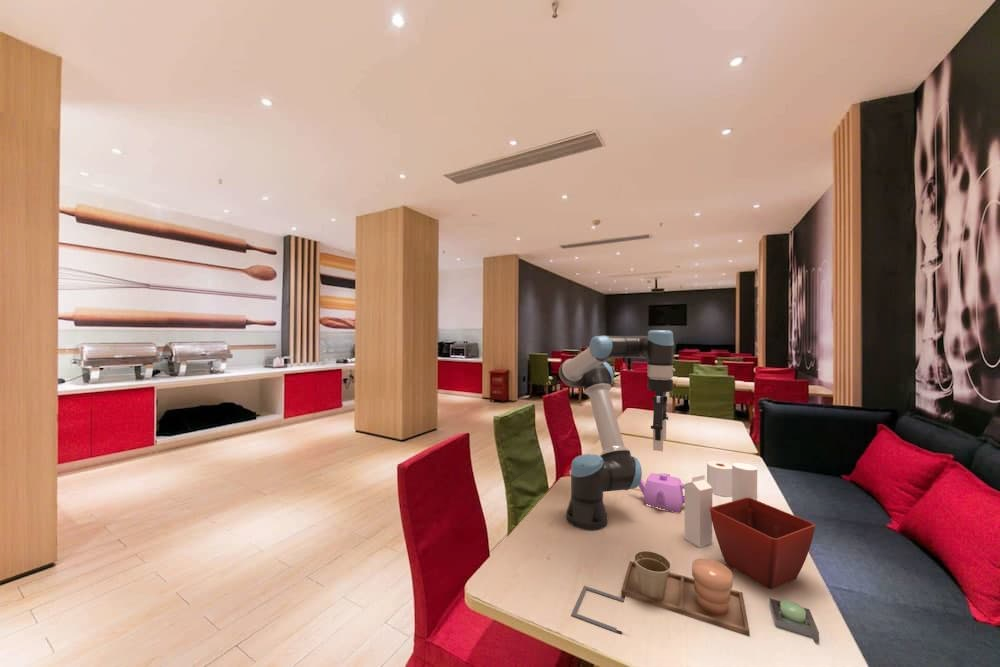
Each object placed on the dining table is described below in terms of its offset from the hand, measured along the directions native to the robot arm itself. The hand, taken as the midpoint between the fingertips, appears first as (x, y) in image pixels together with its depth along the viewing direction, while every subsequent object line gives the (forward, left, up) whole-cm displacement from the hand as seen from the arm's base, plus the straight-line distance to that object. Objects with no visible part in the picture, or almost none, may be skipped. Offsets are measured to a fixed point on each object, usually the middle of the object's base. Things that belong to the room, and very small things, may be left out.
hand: (659, 444), depth 118 cm
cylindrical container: (+25, +23, -35) cm, 49 cm away
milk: (+11, +14, -35) cm, 39 cm away
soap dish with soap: (+31, -16, -35) cm, 49 cm away
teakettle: (-2, +38, -35) cm, 52 cm away
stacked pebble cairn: (+14, -19, -34) cm, 41 cm away
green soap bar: (+31, -16, -34) cm, 49 cm away
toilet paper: (+20, +64, -35) cm, 76 cm away
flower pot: (0, -22, -34) cm, 41 cm away
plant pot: (+27, +4, -35) cm, 44 cm away
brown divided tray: (+7, -19, -35) cm, 40 cm away
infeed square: (-11, -33, -35) cm, 49 cm away
